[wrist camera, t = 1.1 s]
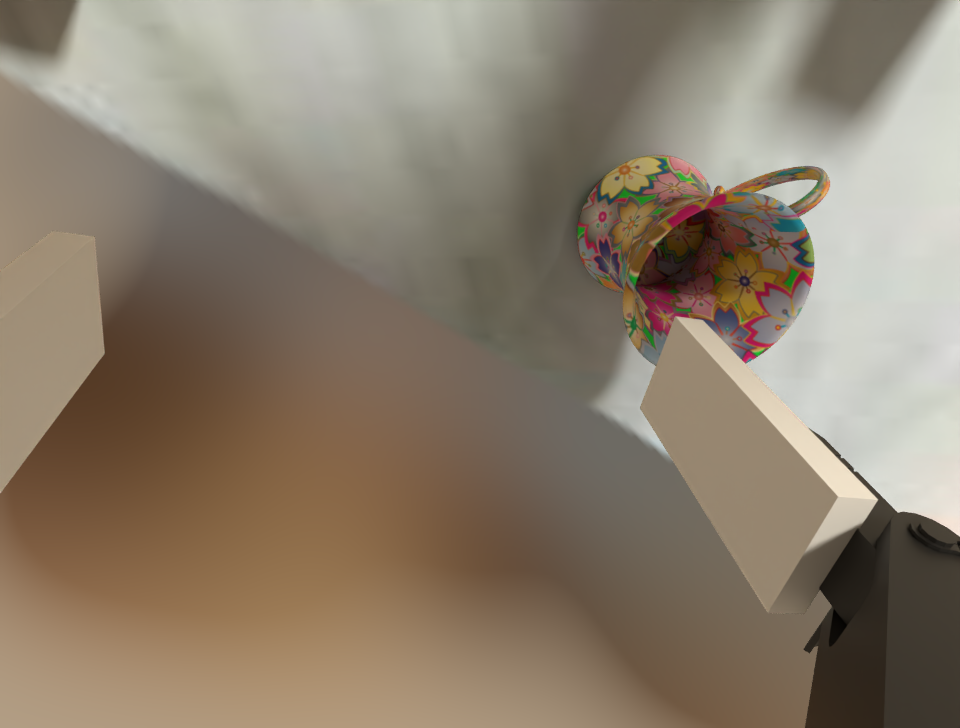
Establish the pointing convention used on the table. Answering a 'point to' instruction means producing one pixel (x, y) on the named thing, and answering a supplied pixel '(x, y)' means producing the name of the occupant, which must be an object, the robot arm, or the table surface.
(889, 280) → the table surface
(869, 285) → the table surface
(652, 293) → the mug
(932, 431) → the table surface
